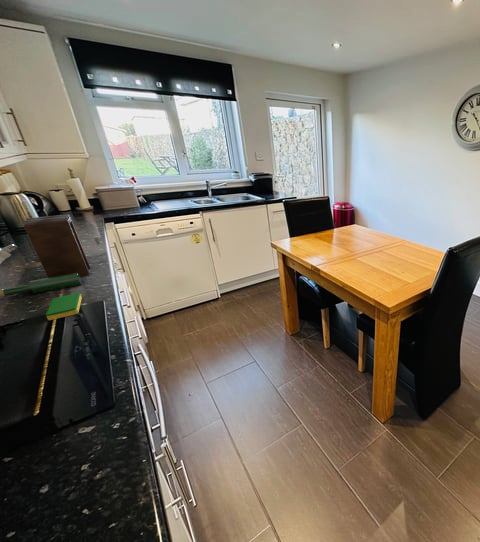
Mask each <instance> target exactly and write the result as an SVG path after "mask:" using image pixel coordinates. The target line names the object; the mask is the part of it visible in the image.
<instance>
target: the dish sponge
mask: <svg viewBox="0 0 480 542" xmlns="http://www.w3.org/2000/svg"><path fill="white" fill-rule="evenodd" d="M82 299H83V297H82V294H81V292H77V293H76V292H75V293H72V294H71V293H70V294H67V295H62V296H57V297H53V298H52V299H51V301H50V303H49V306H48V308H47V311H46V313H45V316H46V319H47V321H52V320H57V319H61V318H65V317H71V316H74V315H78V314H79V313H80V312H79V311H80V309H81V304H82Z"/></svg>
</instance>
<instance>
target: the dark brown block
mask: <svg viewBox="0 0 480 542" xmlns="http://www.w3.org/2000/svg"><path fill="white" fill-rule="evenodd" d="M23 228H24V230H25V232H26V234H27V236H28V237H29V240H30V243H31V245H32V247H33V249H34V251H35V253H36V256H37V257H38V259H39V262H40V264H41V266H42V268H43V270H44V272H45V274H46V275H47V278H51V277H56V276H62V275H67V274H73V273H78V274H79V275H80V277H85V276H90V274H91V273H90V271H89V270H90V269H92V268H91V264H90V263H89V260H88V257H87V255H86V252H85V250H84V247H83V245H82V243H81V240H80V237H79V234H78V232H77V230H76V227H75V225H74V222H73V220H72V217H71V216H70V215H69V214H59V215H50V216H49V215H47V216H37V217H26V218H25V220H23Z"/></svg>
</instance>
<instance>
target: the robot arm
mask: <svg viewBox="0 0 480 542" xmlns="http://www.w3.org/2000/svg"><path fill="white" fill-rule="evenodd" d="M16 249H18V245H16V244H14V243H11V244H9V245H8V246H4V247H0V265H1V264H2V263H3V262H4V261H6V259H8V258H10V257H11V256H12V253H11V252H13V251H15V250H16Z"/></svg>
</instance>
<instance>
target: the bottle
mask: <svg viewBox="0 0 480 542" xmlns="http://www.w3.org/2000/svg"><path fill="white" fill-rule="evenodd" d="M82 284H83V280H82V278H81V276H80V275H79V274H78V273H73V274H67V275H62V276H56V277H51V278H48V277H45V278H40V279H35V280H29V283H28V284H25V285H20V286H14V287H9V288H0V298H7V297H10V296H15V295H20V294H25V293H30V292H31V293H33V295H36V294H41V293H46V292H51V291H57V290H61V289H66V288H67V289H68V288H73V287H76V286H81V285H82Z"/></svg>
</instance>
